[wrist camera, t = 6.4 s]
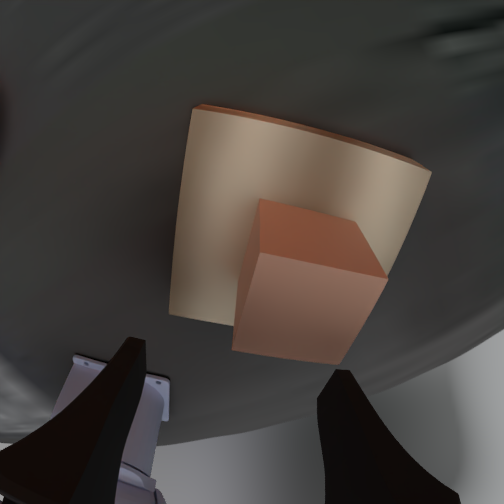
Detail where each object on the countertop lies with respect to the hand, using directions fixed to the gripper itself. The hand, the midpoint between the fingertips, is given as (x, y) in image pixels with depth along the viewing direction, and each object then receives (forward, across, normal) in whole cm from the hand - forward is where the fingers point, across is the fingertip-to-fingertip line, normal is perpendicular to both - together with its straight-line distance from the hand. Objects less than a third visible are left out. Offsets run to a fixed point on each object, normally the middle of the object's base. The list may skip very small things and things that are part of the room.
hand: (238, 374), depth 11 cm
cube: (+7, -2, -2) cm, 7 cm away
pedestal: (+10, -2, -2) cm, 10 cm away
